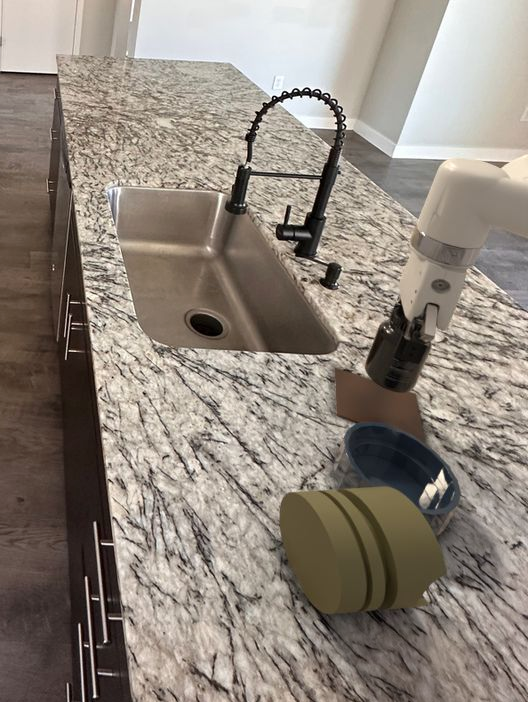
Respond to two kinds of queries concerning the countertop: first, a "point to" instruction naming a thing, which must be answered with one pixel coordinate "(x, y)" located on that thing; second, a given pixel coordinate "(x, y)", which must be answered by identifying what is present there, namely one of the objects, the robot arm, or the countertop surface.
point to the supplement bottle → (385, 364)
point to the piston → (359, 549)
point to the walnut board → (376, 404)
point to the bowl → (398, 469)
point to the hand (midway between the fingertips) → (402, 342)
